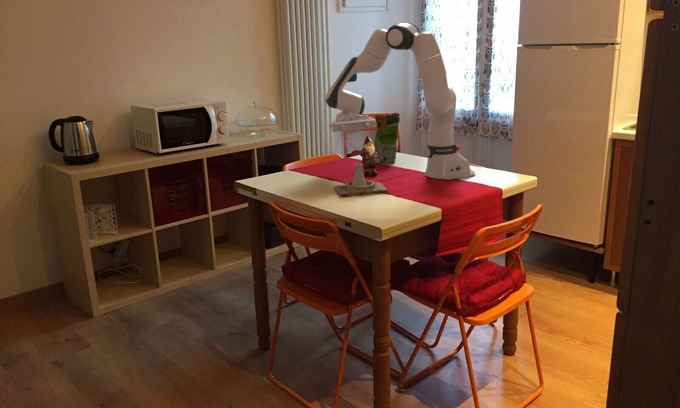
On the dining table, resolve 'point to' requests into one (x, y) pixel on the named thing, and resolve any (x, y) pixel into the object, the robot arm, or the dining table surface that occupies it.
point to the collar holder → (360, 189)
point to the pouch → (386, 137)
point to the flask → (359, 177)
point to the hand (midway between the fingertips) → (356, 127)
